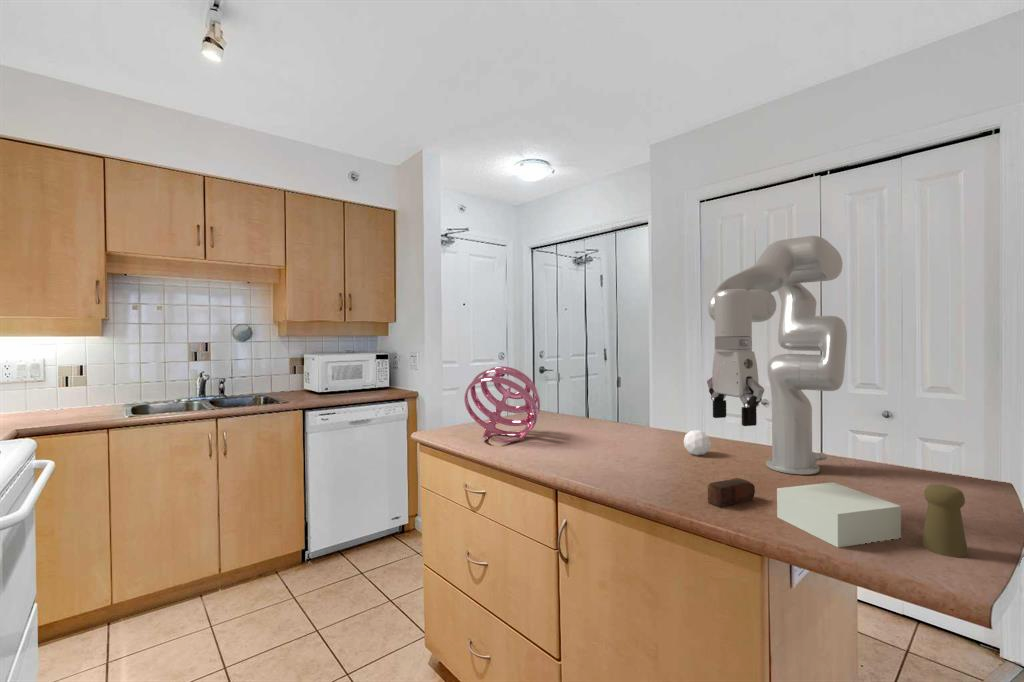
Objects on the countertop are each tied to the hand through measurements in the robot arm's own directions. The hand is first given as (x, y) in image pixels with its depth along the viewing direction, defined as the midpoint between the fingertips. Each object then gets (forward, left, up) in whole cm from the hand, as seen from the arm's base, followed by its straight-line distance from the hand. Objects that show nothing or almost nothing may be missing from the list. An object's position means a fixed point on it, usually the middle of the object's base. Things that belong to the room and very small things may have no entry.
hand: (733, 421), depth 104 cm
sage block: (-10, +16, -18) cm, 26 cm away
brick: (0, -1, -19) cm, 19 cm away
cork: (-20, +28, -19) cm, 39 cm away
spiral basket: (+37, -77, -19) cm, 87 cm away
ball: (-16, -38, -19) cm, 45 cm away
